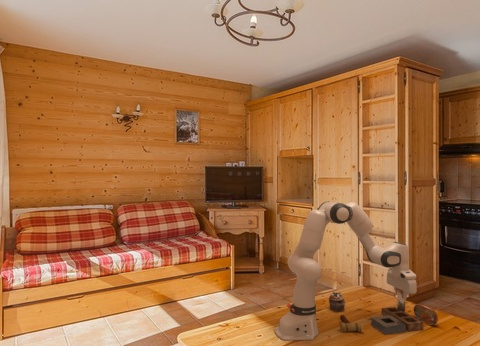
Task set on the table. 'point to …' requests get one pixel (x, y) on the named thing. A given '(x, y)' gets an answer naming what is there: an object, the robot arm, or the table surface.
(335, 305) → the cupcake
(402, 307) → the round peg
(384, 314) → the tool rack
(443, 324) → the table surface
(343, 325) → the gavel
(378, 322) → the socket block
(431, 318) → the tin
